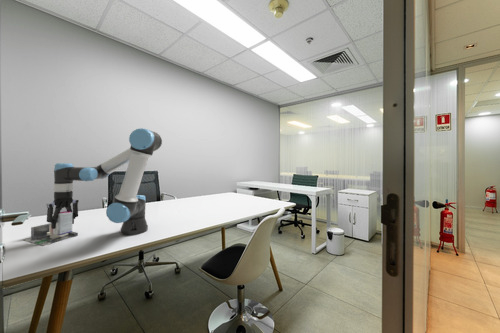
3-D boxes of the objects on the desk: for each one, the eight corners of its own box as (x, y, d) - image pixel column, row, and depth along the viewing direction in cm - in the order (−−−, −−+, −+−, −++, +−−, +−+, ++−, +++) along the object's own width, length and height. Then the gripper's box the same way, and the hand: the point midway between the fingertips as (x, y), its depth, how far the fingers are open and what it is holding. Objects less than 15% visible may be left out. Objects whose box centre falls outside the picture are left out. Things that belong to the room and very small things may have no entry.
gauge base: (78, 235, 115) (78, 225, 115) (43, 245, 100) (43, 234, 100) (58, 231, 121) (58, 221, 121) (23, 240, 106) (23, 229, 106)
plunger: (68, 234, 114) (68, 221, 114) (37, 243, 102) (37, 228, 102) (59, 232, 117) (59, 219, 117) (28, 240, 104) (28, 225, 104)
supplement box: (72, 231, 111) (72, 211, 111) (59, 235, 106) (59, 214, 105) (66, 230, 113) (66, 210, 113) (53, 233, 108) (53, 213, 107)
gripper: (78, 188, 119) (77, 226, 120) (36, 192, 101) (36, 237, 102) (86, 189, 117) (86, 227, 117) (45, 193, 99) (45, 239, 99)
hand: (63, 232), depth 109 cm, fingers closed on supplement box, 6 cm apart
